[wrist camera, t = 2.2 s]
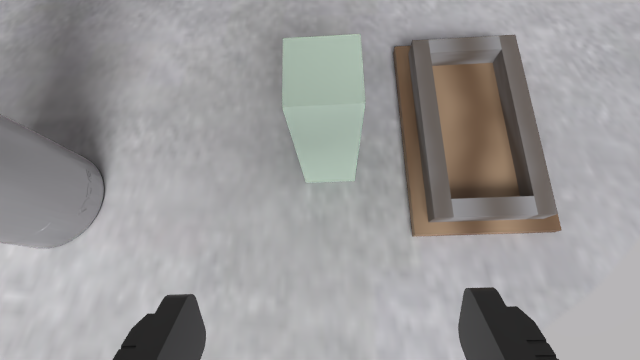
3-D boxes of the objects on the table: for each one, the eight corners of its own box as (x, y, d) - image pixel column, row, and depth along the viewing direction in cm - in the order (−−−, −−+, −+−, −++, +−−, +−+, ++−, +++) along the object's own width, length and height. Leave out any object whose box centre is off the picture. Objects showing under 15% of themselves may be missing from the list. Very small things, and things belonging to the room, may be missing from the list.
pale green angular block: (306, 183, 32) (282, 107, 19) (305, 138, 33) (282, 38, 20) (354, 181, 32) (365, 103, 18) (352, 136, 33) (360, 33, 20)
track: (412, 236, 30) (420, 230, 27) (393, 53, 36) (398, 32, 33) (554, 232, 29) (577, 226, 26) (511, 46, 35) (526, 25, 32)
